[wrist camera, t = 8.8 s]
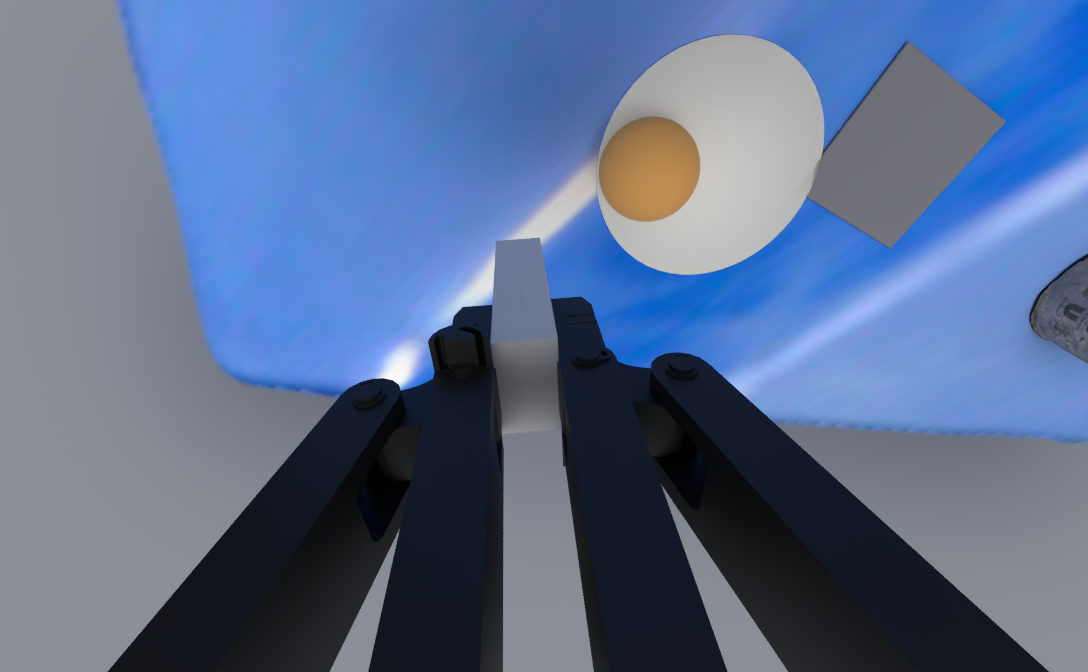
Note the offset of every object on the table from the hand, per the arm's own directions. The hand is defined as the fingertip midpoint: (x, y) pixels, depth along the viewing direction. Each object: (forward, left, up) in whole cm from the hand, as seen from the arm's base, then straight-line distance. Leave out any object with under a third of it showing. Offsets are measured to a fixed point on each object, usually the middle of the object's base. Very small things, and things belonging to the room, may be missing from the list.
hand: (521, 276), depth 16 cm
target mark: (-10, +6, -14) cm, 18 cm away
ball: (-7, +3, -11) cm, 14 cm away
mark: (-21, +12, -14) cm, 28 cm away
